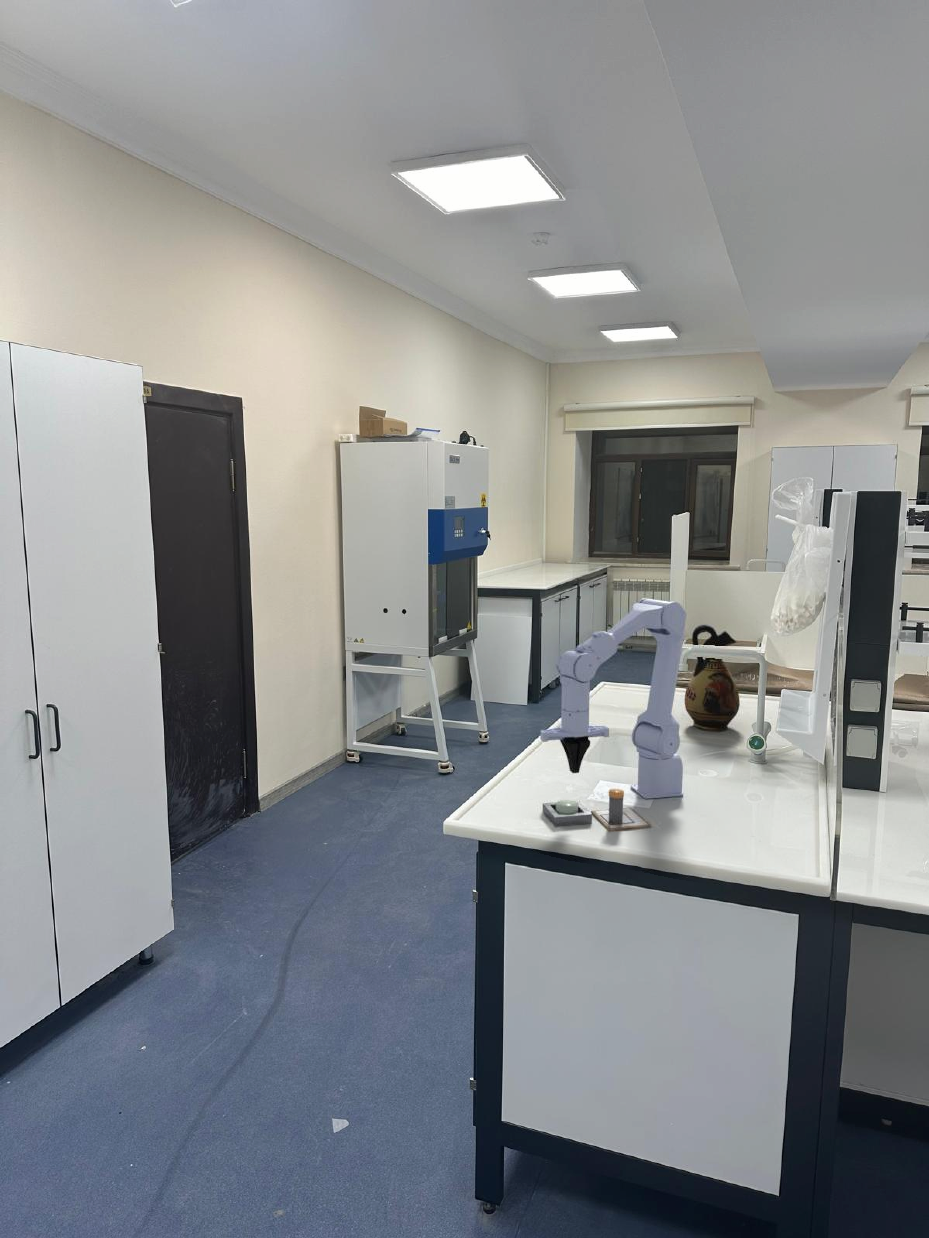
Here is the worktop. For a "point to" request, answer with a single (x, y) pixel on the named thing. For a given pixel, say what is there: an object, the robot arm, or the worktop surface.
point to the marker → (616, 806)
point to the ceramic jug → (712, 687)
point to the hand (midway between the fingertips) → (574, 771)
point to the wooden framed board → (629, 820)
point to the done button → (566, 807)
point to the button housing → (567, 815)
